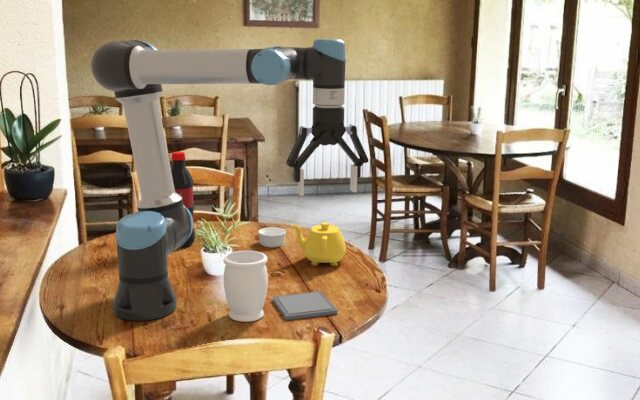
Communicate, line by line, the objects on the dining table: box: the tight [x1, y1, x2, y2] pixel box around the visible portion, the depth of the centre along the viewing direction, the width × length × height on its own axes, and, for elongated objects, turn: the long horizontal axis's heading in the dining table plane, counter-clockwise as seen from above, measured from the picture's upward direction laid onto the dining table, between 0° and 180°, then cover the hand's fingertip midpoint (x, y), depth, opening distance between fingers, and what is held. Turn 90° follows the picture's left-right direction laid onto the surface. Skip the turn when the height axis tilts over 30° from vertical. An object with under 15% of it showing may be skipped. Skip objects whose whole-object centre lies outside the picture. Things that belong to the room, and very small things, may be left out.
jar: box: [222, 250, 269, 323], centre depth 165 cm, size 11×10×15 cm
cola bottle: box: [170, 151, 196, 248], centre depth 216 cm, size 8×8×30 cm
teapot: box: [290, 222, 347, 267], centre depth 205 cm, size 14×14×12 cm
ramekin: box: [257, 226, 287, 248], centre depth 221 cm, size 9×9×4 cm
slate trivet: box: [272, 290, 338, 321], centre depth 172 cm, size 13×13×1 cm
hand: (327, 193), depth 168 cm, fingers open, 13 cm apart
